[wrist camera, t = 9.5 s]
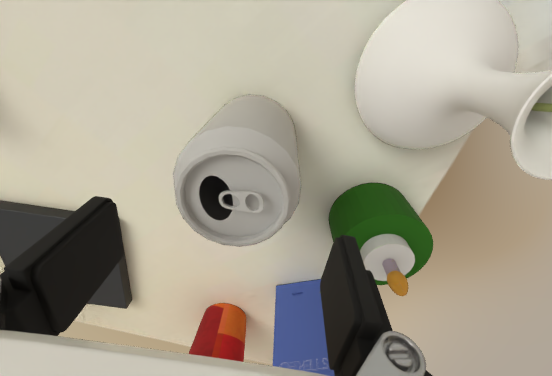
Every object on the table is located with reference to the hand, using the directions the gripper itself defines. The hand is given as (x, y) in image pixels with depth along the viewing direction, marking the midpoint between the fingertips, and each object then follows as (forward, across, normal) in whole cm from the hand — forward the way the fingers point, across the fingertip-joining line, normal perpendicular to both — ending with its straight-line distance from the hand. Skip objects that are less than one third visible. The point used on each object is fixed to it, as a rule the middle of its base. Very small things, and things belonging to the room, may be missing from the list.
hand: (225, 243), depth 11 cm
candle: (+15, -12, +7) cm, 21 cm away
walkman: (+15, -8, +19) cm, 26 cm away
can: (+15, 0, 0) cm, 15 cm away
